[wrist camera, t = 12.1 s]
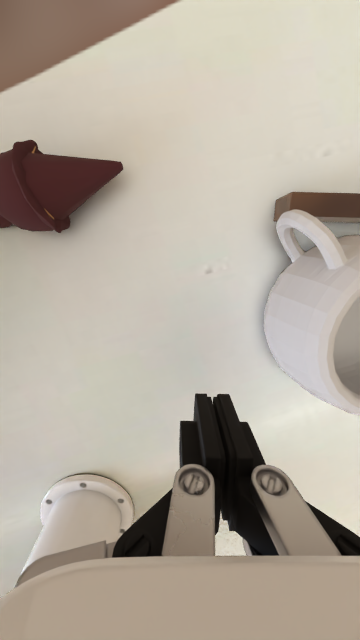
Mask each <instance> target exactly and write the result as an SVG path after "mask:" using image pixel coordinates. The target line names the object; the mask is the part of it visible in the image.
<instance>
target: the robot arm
mask: <svg viewBox="0 0 360 640" xmlns="http://www.w3.org/2000/svg"><path fill="white" fill-rule="evenodd" d="M179 452H180V469H179V470H178V471H177V473H176V475H175V478H174V484H173V488H172V489H171V490H170V491H169V492H168V493H167V494H166V495H165V496H164V497H162V498H161V499H160V500H159V501H158V502H157V503H156V504H155V505H154V506H153V507H151V508H150V509H149V510H148V511H147V512H146V513H145V514H144V515H143V516H142V517H141V518H139V519H138V520H137V521H136V522H135V523H134V524H133V525H132V526H131V524H132V521H133V514H134V508H133V503H132V500H131V498H130V496H129V495H128V493H127V492H126V491H125V490H124V489H123V488H122V487H121V486H120V485H118V484H117V483H115V482H114V481H112V480H110V479H107V478H104V477H101V476H97V475H85V474H83V475H75V476H71V477H67V478H65V479H63V480H61V481H59V482H57V483H56V484H55V485H53V486H52V487H51V488H50V490H49V491H48V492H47V494H46V496H45V497H44V499H43V501H42V504H41V507H40V517H41V521H42V523H43V528H42V530H41V533H40V535H39V537H38V539H37V541H36V543H35V545H34V547H33V549H32V552H31V554H30V556H29V558H28V560H27V562H26V564H25V566H24V568H23V570H22V573H21V575H20V577H19V579H18V581H17V583H16V585H15V587H14V589H13V590H11V591H10V592H8V593H7V594H6V595H4V596H3V597H2V598H0V640H360V537H359V536H357V535H356V534H355V533H353V532H352V531H350V530H349V529H347V528H345V527H344V526H342V525H341V524H339V523H338V522H336V521H335V520H333V519H332V518H330V517H329V516H327V515H326V514H324V513H323V512H321V511H320V510H318V509H317V508H315V507H314V506H312V505H310V504H309V503H307V502H306V501H305V500H304V499H303V497H302V496H301V494H300V493H299V491H298V490H297V488H296V487H295V486H294V484H293V483H292V481H291V480H290V478H289V477H288V476H287V475H286V474H285V473H284V472H283V471H281V470H280V469H278V468H276V467H274V466H270V465H266V464H265V461H264V459H263V457H262V454H261V452H260V450H259V447H258V445H257V443H256V440H255V438H254V436H253V433H252V431H251V429H250V426H249V424H248V423H247V422H240V421H239V419H238V416H237V413H236V411H235V408H234V406H233V403H232V400H231V398H230V395H229V394H218V395H217V397H214V398H213V404H212V400H211V397H207V394H195V405H194V421H180V443H179ZM220 511H221V513H222V518H223V520H227V521H228V526H229V531H236V532H237V533H238V534H239V535H240V536H241V537H242V538H243V546H244V550H245V552H246V555H247V556H215V535H216V534H217V532H218V529H219V520H220Z"/></svg>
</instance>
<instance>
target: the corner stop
mask: <svg viewBox="0 0 360 640" xmlns="http://www.w3.org/2000/svg"><path fill="white" fill-rule="evenodd" d="M293 209H296V210H301V211H304V212H307V213H309V214H310V215H312V216H314V217H316V218H317V219H318V220H319V221H321V222H347V223H360V194H355V193H313V192H291V193H289V194H287V195H285V196H283V197H281V198H279V199H277V200H276V205H275V214H274V221H278V220H279V218H280V216H281V215H282V214H283V213H285V212H287V211H290V210H293Z"/></svg>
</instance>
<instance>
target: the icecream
mask: <svg viewBox="0 0 360 640" xmlns="http://www.w3.org/2000/svg"><path fill="white" fill-rule="evenodd" d="M122 170H123V165H122V163H121V162H117V161H109V160H98V159H88V158H78V157H68V156H57V155H47V154H43V153H42V152H40V151H39V150H38V146H37V144H36V142H34V141H33V140H27V141H24V142H16V143H14V145H13V149H12V150H10V151H7V152H4V153H1V154H0V228H4V227H9V226H11V225H12V224H14V225H16V226H17V227H19V228H21V229H25V230H30V231H52V230H55V231H57V232H58V233H61V232H62V231H63V230H65V229H68V228H69V227H70V217H69V215H70V214H71V213H72V212H73V211H75V210H76V209H77V208H78V207H79V206H81V205H82V204H83V203H84V202H85V201H86V200H88V199H89V198H90V197H91V196H92V195H94V194H95V193H96V192H97V191H98V190H99V189H101V188H102V187H103V186H104V185H105V184H107V183H108V182H109V181H110V180H112V179H113V178H114V177H115V176H117V175H118V174H119V173H120V172H121V171H122Z"/></svg>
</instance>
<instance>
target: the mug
mask: <svg viewBox="0 0 360 640" xmlns="http://www.w3.org/2000/svg"><path fill="white" fill-rule="evenodd" d="M293 228H294V229H297V230H299V231H300V232H302V233H303V234H305V235H306V236H307V237H308V238H310V239H311V240H312V241H313V242H314V243H315V245H316V246H315V247H313V248H311V249H310V250H308V251H307V252H305V251H304V250H302V248H301V247H300V245H299V244H298V242H297V240H296V238H295V235H294V232H293ZM276 230H277V234H278V236H279V239H280V241H281V243H282V245H283V247H284V249H285V251H286V253H287V254H288V256H289V257H290V258H291V261H292V264H290V265H289V266H288V267H287V268H286V269H285V270H284V271H283V272H282V273H281V274H280V276H279V278H278V279H277V281H276V283H275V284H274V286H273V288H272V289H271V291H270V294H269V297H268V300H267V304H266V307H265V310H264V331H265V336H266V340H267V344H268V347H269V349H270V352H271V353H272V355H273V357H274V358H275V360H276V362H277V364H278V365H279V367H280V368H281V369H282V370H283V371H284V372H285V373H287V374H288V375H289V376H290V377H291V378H292V379H293V380H294V381H296V382H297V383H298V384H299V385H300V386H301V387H302V388H304V389H305V390H307V391H308V392H310V393H311V394H313V395H314V396H316V397H317V398H319V399H321V400H323V401H325V402H327V403H329V404H331V405H333V406H335V407H338V408H340V409H342V410H344V411H346V412H348V413H351V414H356V415H360V235H350V236H343V237H340V238H336V237H335V235H334V234H333V233H332V232H331V231H330V229H329V228H328V227H326V226H325V225H324V224H323V223H322V222H321V221H319V220H318V219H317V218H316V217H314V216H312V215H310V214H309V213H307V212H304V211H301V210H296V209H293V210H290V211H287V212H285V213H283V214H282V215H281V216H280V218H279V220H278V221H277V224H276Z"/></svg>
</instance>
